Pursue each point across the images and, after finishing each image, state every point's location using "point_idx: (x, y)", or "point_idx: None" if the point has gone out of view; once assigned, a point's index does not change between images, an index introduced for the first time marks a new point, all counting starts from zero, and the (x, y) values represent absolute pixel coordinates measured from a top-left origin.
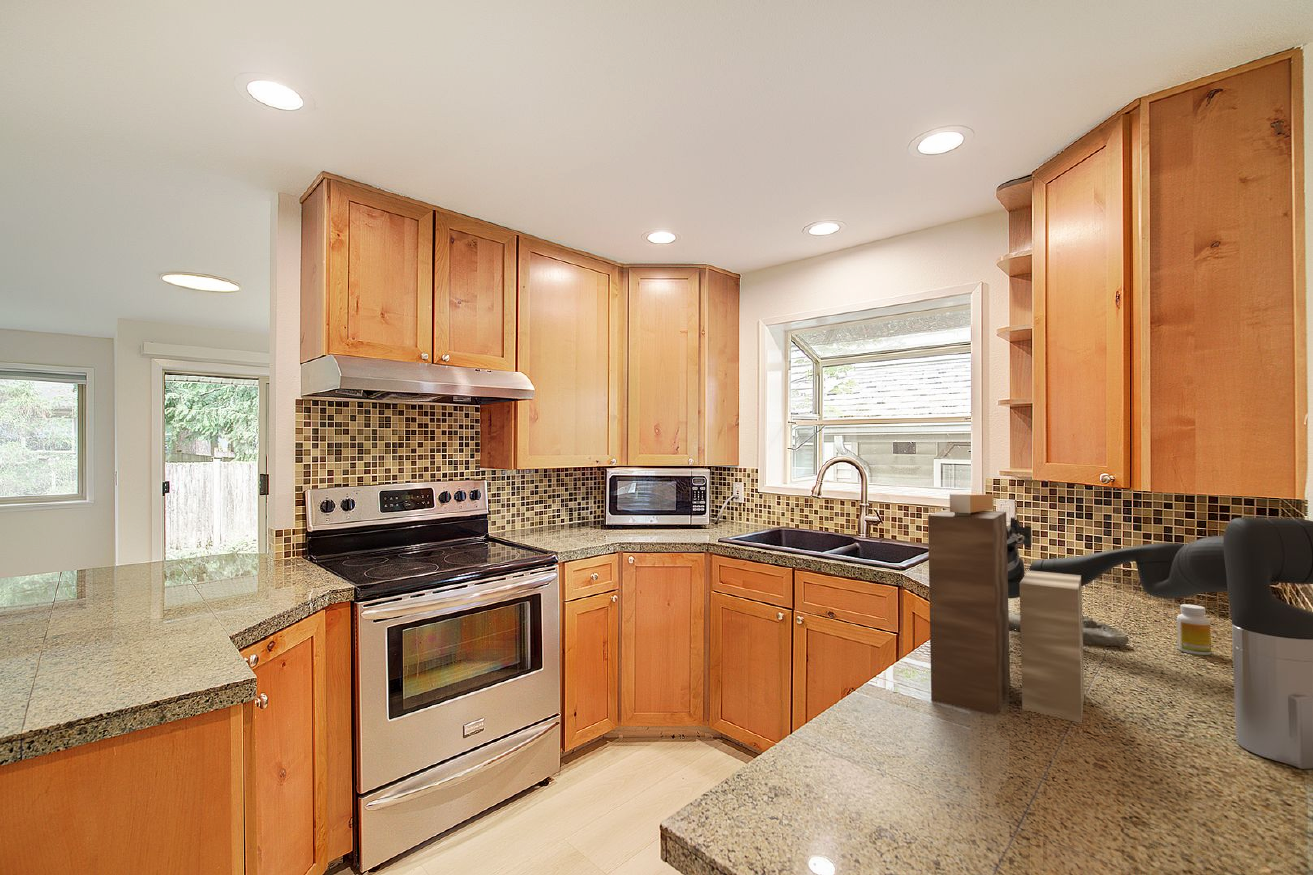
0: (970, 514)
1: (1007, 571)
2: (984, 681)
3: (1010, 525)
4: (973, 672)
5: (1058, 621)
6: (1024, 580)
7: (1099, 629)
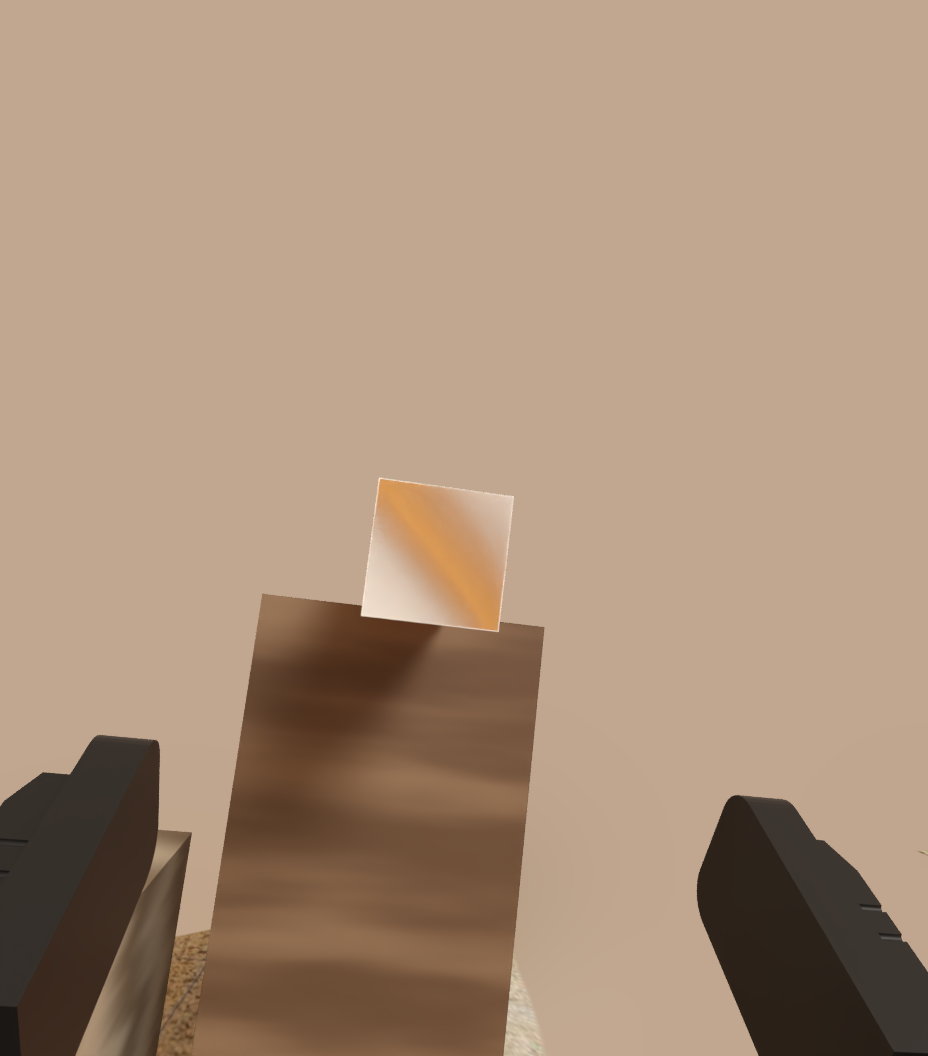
0: None
1: (211, 933)
2: None
3: (153, 849)
4: None
5: None
6: (164, 852)
7: None
